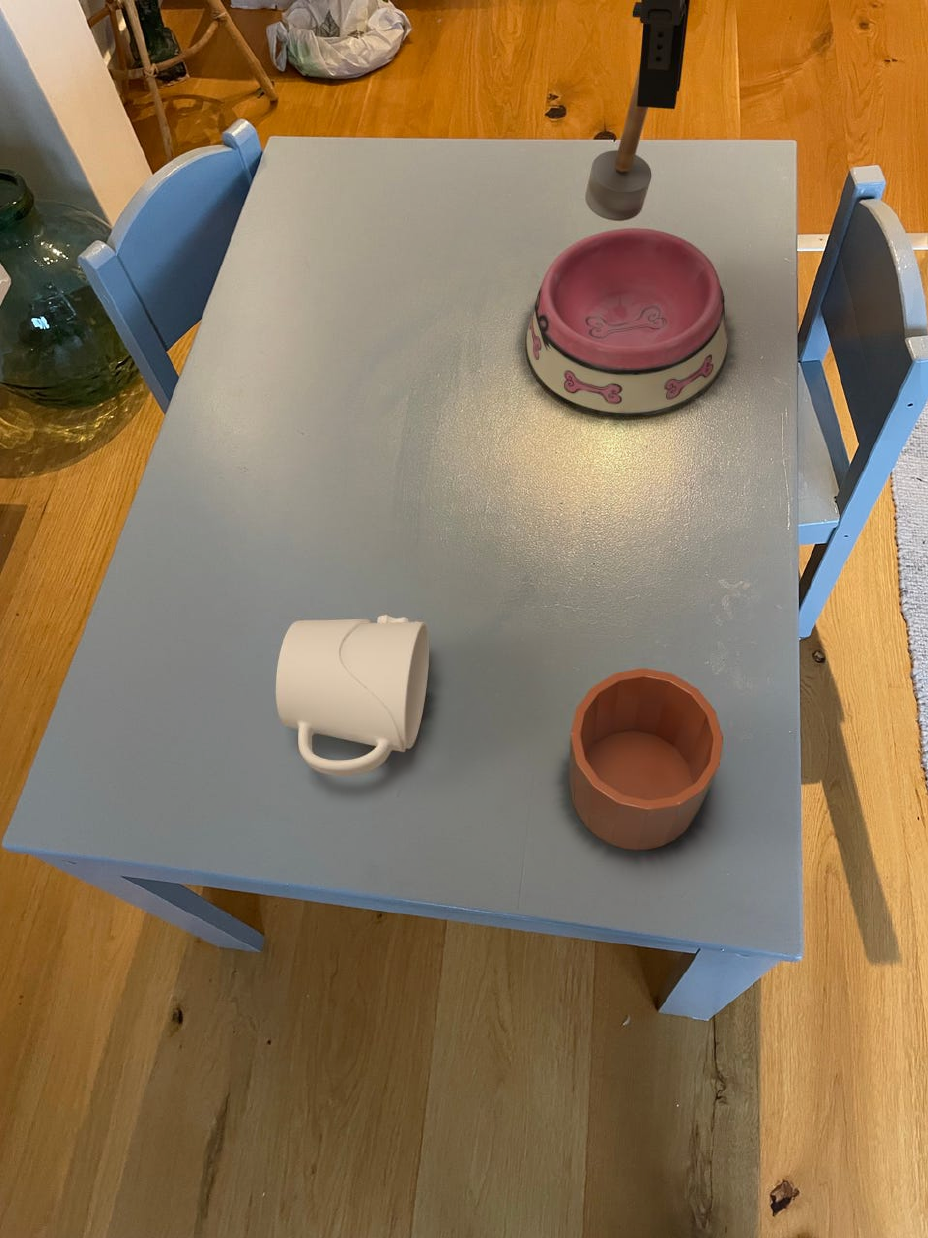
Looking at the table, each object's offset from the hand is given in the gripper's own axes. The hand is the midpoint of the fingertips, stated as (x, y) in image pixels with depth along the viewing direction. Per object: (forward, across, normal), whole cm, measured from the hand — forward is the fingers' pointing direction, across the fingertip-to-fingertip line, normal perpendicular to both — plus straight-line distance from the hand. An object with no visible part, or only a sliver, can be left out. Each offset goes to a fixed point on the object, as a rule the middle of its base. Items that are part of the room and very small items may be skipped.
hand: (658, 95), depth 68 cm
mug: (+23, +43, -14) cm, 51 cm away
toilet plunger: (+9, 0, -3) cm, 9 cm away
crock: (+23, +44, +7) cm, 50 cm away
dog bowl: (+23, +2, -1) cm, 23 cm away
